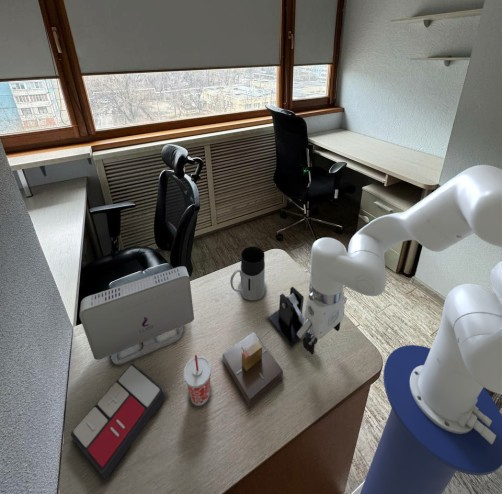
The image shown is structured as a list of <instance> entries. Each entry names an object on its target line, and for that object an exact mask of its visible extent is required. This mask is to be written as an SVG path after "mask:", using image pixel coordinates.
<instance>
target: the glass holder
mask: <svg viewBox="0 0 502 494" xmlns="http://www.w3.org/2000/svg"><path fill="white" fill-rule="evenodd" d="M265 255H266V254H265V252H264V250H263V249H262V248H261V247H257V246H247V247H245V248H243V250H242V251H241V253H240V269H236V270H234V272H232V275H231V276H230V286H231V289H232V290H233V291H234V292H238V293H240V295H241V296H242V298H244V299H246V300H248V301H257V300H260V299H261V298H263V297H264V296H265V294H266V285H265V272H266V271H265V270H266V263H265V262H266V261H265ZM238 273H239V276H240V286H239V289H236V288H235V287H234V283H233V282H234V277H235V276H236V274H238Z"/></svg>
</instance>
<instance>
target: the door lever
mask: <svg viewBox="0 0 502 494" xmlns="http://www.w3.org/2000/svg"><path fill="white" fill-rule="evenodd" d="M286 297H287V298H288V299H289V300H290V301H291V302H292V303H293V309H294V311H295V313H296V315H297V317H298V319H299V321H300V323H301V324H302V326H303V325H304V316H303V313H302V314H301V312H300V310H299V308H298V306H297V304H298V303H299V302H298V300H297V298H296V297H295V295H294V293H293V294H290V293H289V294H288V295H287V296H286ZM307 334H308V335H309V336H310V337H311V336H312V334H313V333H312V332H311V331H310V330H309V331H308V333H307ZM318 340H319V339H317V338H315V340H314V342H315V345H317V343H318Z"/></svg>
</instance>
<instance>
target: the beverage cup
mask: <svg viewBox="0 0 502 494" xmlns="http://www.w3.org/2000/svg"><path fill="white" fill-rule="evenodd" d="M211 364H212V363H211V361H210V360H209V359H208V358H207V357H205V356H203V355H197V354H195V355H194V357H192V358H191V359H189V361H187V363H186V365H184V369H183V379H184V382H185V383H186V386H187V390H188V393H189V397H190V401H191V403H192V404H193V405H195V406H202V405H204V404H206V403H207V402H208V400H209V398H210V396H211V395H210V394H211V377H212V376H211V375H212V365H211Z"/></svg>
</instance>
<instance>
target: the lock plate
mask: <svg viewBox="0 0 502 494" xmlns="http://www.w3.org/2000/svg"><path fill="white" fill-rule="evenodd" d="M257 341H258V342H259V343H260V344H261V346H262V359H260V360H259V361H258V362H257V363H256V364H254V365H253V366H252V367H251V368H250V369H248V370H247V371H245V369H244V368H243V366H242V353H243V352H244V351H245V350H247V349H248V348H249V347H251V346H252V345H253V344H255V343H256V342H257ZM266 347H267V346H265V344H264V343H263V342H262V341H261V339H260V338H259V336H258V335H257V334H256V332H255V331H252V332H251V333H249V334H248V335H247V336H245V337H244V338H242V339H241V340H240V341H238V342H237V343H236V344H234V345H232V347H230V348H229V349H227V350H226V351H224V352H223V353H222V362H223V364H224V365H225V367H226V369H227V370H228V372H229V374H230V375H231V377H232V379H233V381H234V382H235V384H236V386H237V387H238V389H239V391H240V393H241V395H242V396H243V398H244V400H245V401H246V404H247V405H248V407H252V406H253V405H254V404H255V403H256V402H257V401H258V400H259V399H261V398H262V397H263V396H264V395H265V394H267V392H269V390H270V389H272V388H273V387H274V386H275V385H276V384H277V383H278V382H279V381H280V380H282V379H283V375H284V373H283V372H284V370H283V369H282V367H281V366H280V364H278V362H277V361H276V359H275V358H274V357H273V355H272V354H271V352H270V351H269V349H267V348H266Z"/></svg>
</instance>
